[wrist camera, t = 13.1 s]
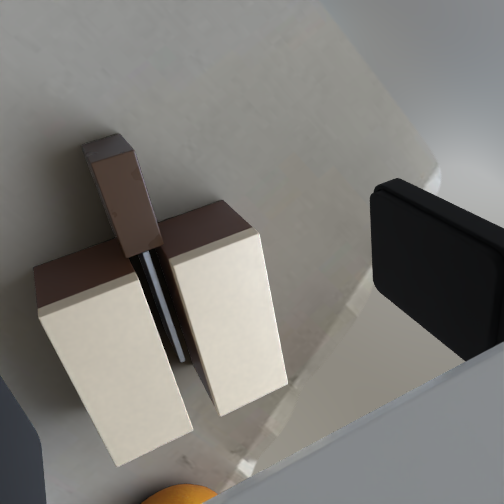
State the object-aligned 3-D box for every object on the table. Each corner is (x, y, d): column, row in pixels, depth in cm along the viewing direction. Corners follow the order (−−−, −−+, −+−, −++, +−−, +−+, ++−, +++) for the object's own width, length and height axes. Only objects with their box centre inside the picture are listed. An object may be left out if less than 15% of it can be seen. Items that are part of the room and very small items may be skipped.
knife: (80, 144, 28) (90, 163, 25) (120, 132, 29) (134, 149, 26) (152, 336, 36) (166, 369, 33) (182, 323, 37) (199, 354, 33)
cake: (32, 267, 30) (37, 318, 25) (222, 199, 34) (259, 232, 29) (102, 406, 37) (116, 468, 32) (254, 338, 40) (288, 384, 36)
